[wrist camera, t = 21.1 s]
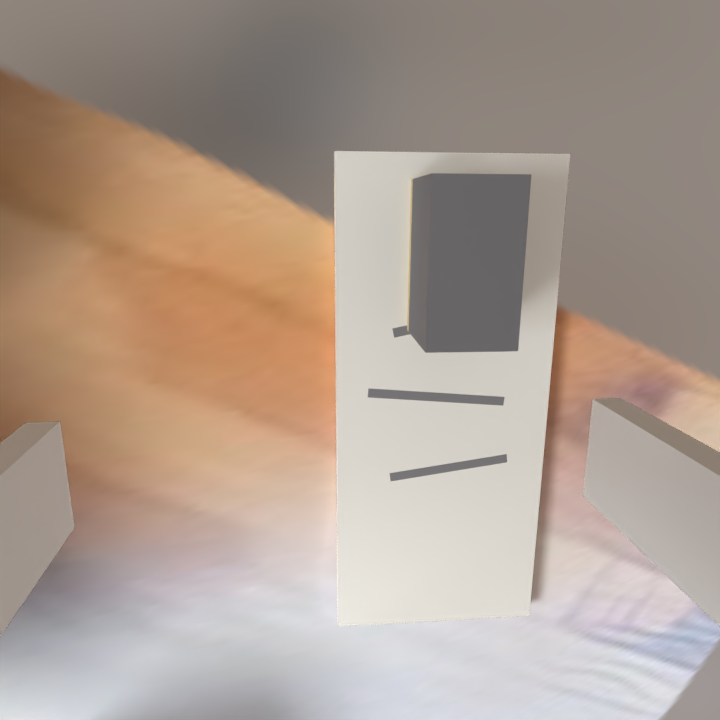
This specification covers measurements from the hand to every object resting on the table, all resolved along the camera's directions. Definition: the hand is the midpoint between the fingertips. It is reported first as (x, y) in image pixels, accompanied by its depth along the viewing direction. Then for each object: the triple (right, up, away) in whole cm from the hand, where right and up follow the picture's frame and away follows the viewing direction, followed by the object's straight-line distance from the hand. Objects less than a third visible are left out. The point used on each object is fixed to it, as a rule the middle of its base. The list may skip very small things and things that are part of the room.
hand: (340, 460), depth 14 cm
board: (+6, -1, +25) cm, 25 cm away
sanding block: (+6, +9, +21) cm, 24 cm away
